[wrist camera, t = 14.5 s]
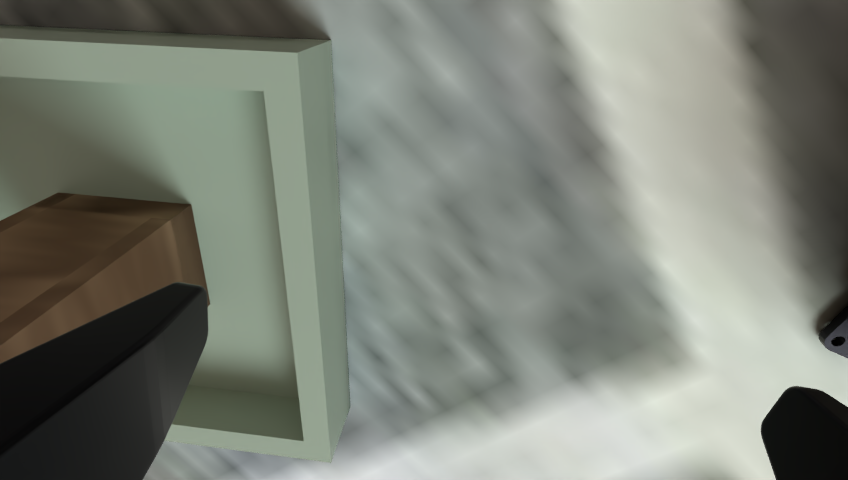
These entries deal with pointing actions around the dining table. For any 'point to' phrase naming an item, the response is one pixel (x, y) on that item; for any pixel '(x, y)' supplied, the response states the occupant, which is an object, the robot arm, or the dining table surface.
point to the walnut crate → (88, 262)
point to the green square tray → (206, 202)
